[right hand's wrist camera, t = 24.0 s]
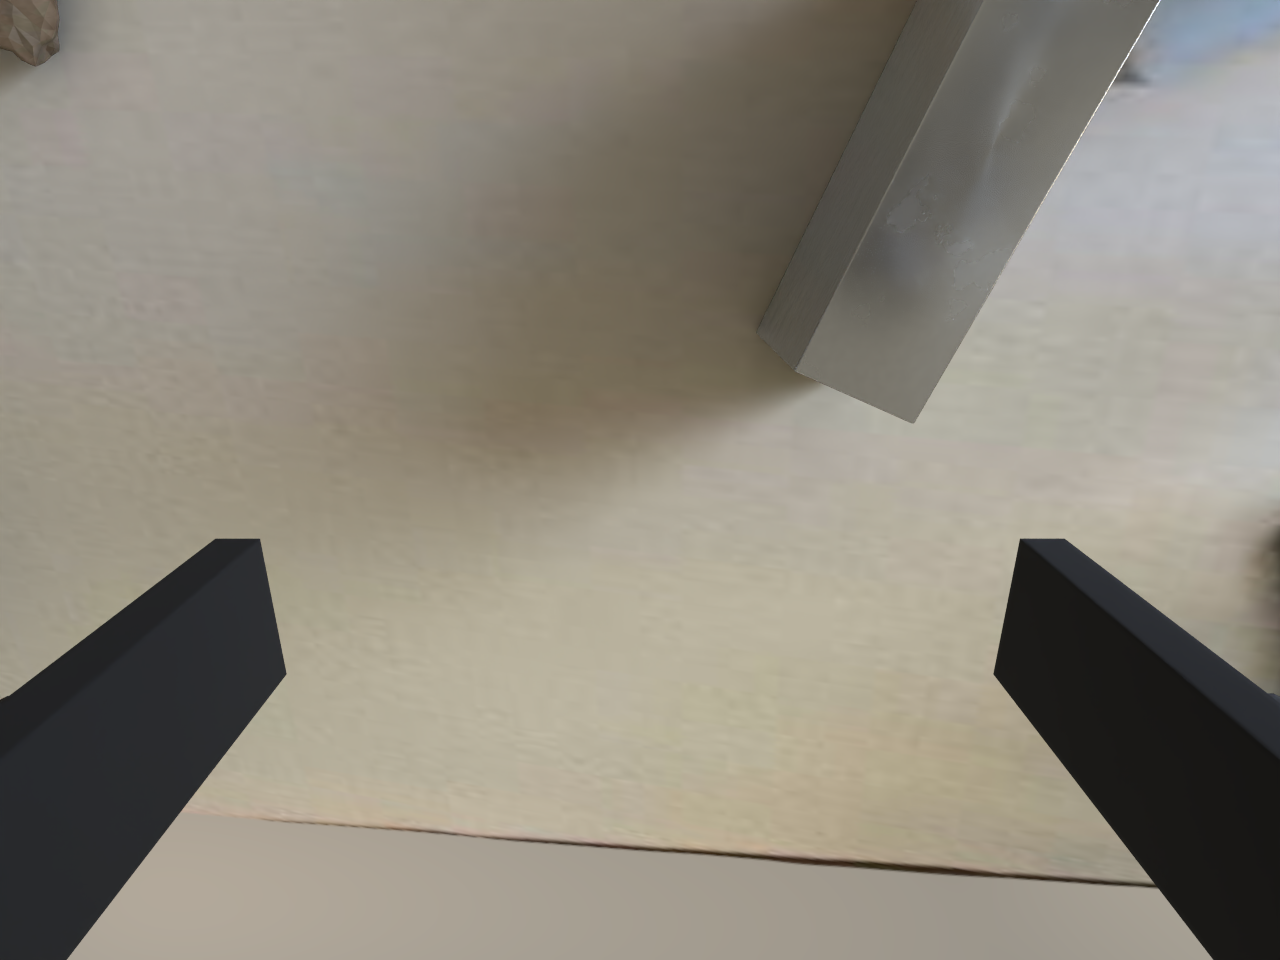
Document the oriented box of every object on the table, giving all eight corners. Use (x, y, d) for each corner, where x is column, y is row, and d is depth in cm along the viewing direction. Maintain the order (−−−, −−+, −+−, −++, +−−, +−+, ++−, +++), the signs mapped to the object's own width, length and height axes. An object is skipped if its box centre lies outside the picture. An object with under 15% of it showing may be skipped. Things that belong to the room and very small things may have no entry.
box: (961, -91, 35) (1095, -219, 25) (1066, -32, 36) (1238, -132, 26) (755, 332, 42) (793, 371, 32) (847, 374, 43) (914, 424, 32)
